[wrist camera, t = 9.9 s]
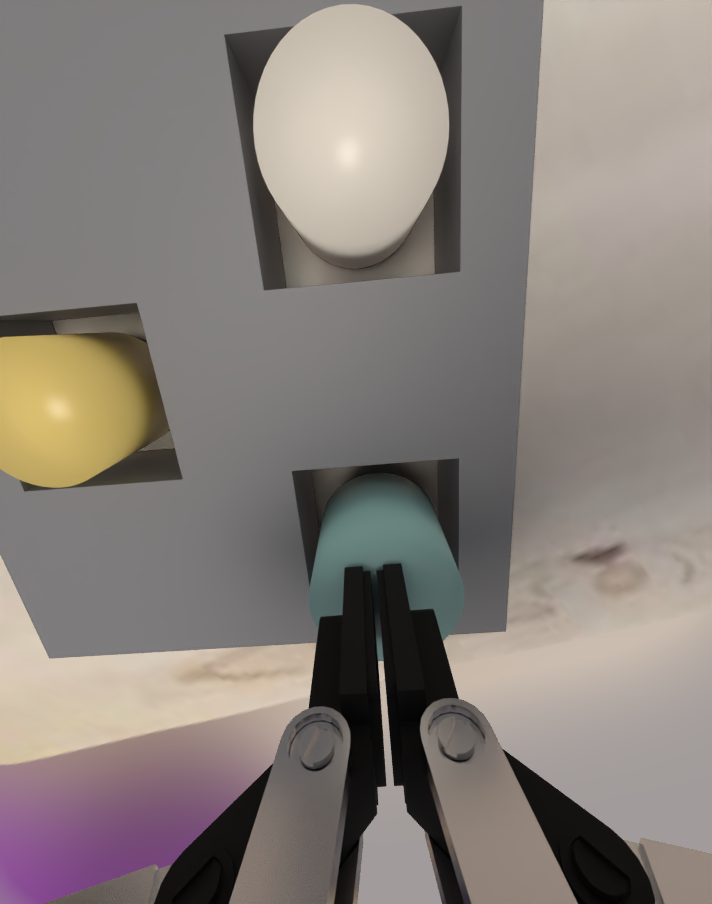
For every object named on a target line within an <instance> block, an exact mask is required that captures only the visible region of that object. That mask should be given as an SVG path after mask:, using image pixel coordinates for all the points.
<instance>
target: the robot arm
mask: <svg viewBox="0 0 712 904" xmlns="http://www.w3.org/2000/svg"><path fill="white" fill-rule="evenodd" d="M376 574H377V586H378V598H379V610H380V623H381V635H382V647H383V659H384V671H385V683H386V694H387V706H388V718H389V730H390V742H391V753H392V765H393V777H394V786H401V785H403V786H404V795H405V803H406V805H407V812H408V813H409V814H410V815H411V816H412V817H413V818H414V820H416V821H417V823H418V824H419V825H420V826H421V827H422V828H423V829H424V830H425V837H426V842H427V846H428V849H429V853H430V858H431V862H432V866H433V870H434V873H435V877H436V881H437V885H438V889H439V893H440V897H441V901H442V904H712V854H710V853H706V852H702V851H697V850H693V849H689V848H684V847H680V846H675V845H671V844H666V843H662V842H657V841H653V840H649V839H644V838H641V839H640V843H634V842H630V841H626V840H622V839H621V838H620V837H619V836H618V835H617V834H616V833H615V832H614V831H613V830H611V829H610V828H609V827H608V826H606V825H605V824H604V823H602V822H601V821H599V820H598V819H597V818H595V817H594V816H593V815H591V814H590V813H589V812H587V811H586V810H585V809H583V808H582V807H580V806H579V805H578V804H576V803H575V802H574V801H572V800H571V799H570V798H568V797H567V796H565V795H564V794H563V793H562V792H560V791H559V790H558V789H556V788H555V787H553V786H552V785H551V784H549V783H548V782H547V781H545V780H544V779H542V778H541V777H540V776H539V775H537V774H536V773H534V772H533V771H532V770H530V769H529V768H528V767H526V766H525V765H524V764H522V763H521V762H520V761H518V760H517V759H516V758H514V757H513V756H511V755H510V754H509V753H507V752H506V751H505V750H503V749H502V748H501V746H500V744H499V742H498V740H497V737H496V735H495V733H494V731H493V729H492V727H491V725H490V723H489V722H488V720H487V719H486V717H485V716H484V714H482V713H481V712H480V711H479V710H478V709H477V708H476V707H475V706H473V705H472V704H469V703H468V702H466V701H464V700H460V699H458V695H457V691H456V688H455V684H454V680H453V677H452V673H451V669H450V666H449V662H448V658H447V655H446V651H445V648H444V644H443V640H442V637H441V633H440V629H439V626H438V622H437V619H436V615H435V612H434V610H433V609H421V610H410V606H409V601H408V596H407V591H406V586H405V580H404V575H403V570H402V565H401V563H398V564H385V565H383V570H376ZM383 786H386V773H385V759H384V745H383V730H382V714H381V699H380V685H379V670H378V655H377V642H376V630H375V619H374V607H373V596H372V585H371V573H370V571H363V566H358V567H345V569H344V590H343V613H342V615H337V616H322V617H320V620H319V627H318V636H317V644H316V652H315V661H314V669H313V677H312V686H311V694H310V702H309V709H307V710H304V711H302V712H301V713H300V714H298V715H297V716H295V718H293V719H292V721H291V722H290V723H289V724H288V725H287V727H286V729H285V731H284V733H283V735H282V738H281V741H280V744H279V747H278V750H277V754H276V756H275V760H274V763H273V764H272V765H271V766H270V767H269V768H268V769H267V770H266V771H265V772H264V773H263V774H262V775H261V776H260V777H259V778H258V779H257V780H256V781H255V782H254V783H253V784H252V785H251V786H250V787H249V788H248V789H247V790H246V791H244V792H243V794H242V795H240V796H239V797H238V798H237V799H236V800H235V801H234V802H233V803H232V804H231V805H230V806H229V807H228V808H227V809H226V810H225V811H224V812H223V813H222V814H221V815H220V816H219V817H218V818H217V819H216V820H215V821H214V822H213V823H212V824H211V825H210V826H209V827H208V828H207V829H206V830H205V831H204V832H203V833H202V834H201V835H200V836H199V837H198V838H197V839H196V840H195V841H194V842H193V843H192V844H191V845H190V846H189V847H188V848H186V850H184V851H183V853H182V854H181V855H180V856H179V857H178V859H177V860H176V861H175V862H174V863H173V864H172V865H169V866H167V867H164V868H161V869H158V867H157V865H156V864H155V865H152V866H149V867H146V868H143V869H141V870H138V871H135V872H132V873H129V874H127V875H124V876H121V877H118V878H115V879H113V880H110V881H107V882H104V883H102V884H99V885H96V886H93V887H90V888H87V889H85V890H82V891H79V892H76V893H73V894H70V895H68V896H65V897H62V898H59V899H57V900H54V901H51V902H48V903H45V904H357V900H358V891H359V881H360V870H361V860H362V849H363V832H364V831H365V830H366V828H367V827H368V825H369V824H370V823H371V821H372V820H373V819H374V817H375V816H376V814H377V805H378V793H377V792H378V791H377V787H383Z"/></svg>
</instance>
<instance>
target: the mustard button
mask: <svg viewBox="0 0 712 904" xmlns="http://www.w3.org/2000/svg"><path fill="white" fill-rule="evenodd" d="M169 430H170V428H169V424H168V420H167V416H166V413H165V409H164V405H163V401H162V397H161V393H160V390H159V386H158V382H157V378H156V374H155V370H154V367H153V363H152V359H151V355H150V351H149V347H148V344H147V343H145V342H144V341H142V340H140V339H138V338H136V337H133V336H130V335H127V334H123V333H115V332H107V333H84V334H61V335H38V336H14V337H1V338H0V469H1V470H2V471H4V472H5V473H7V474H9V475H11V476H13V477H15V478H17V479H19V480H21V481H24V482H27V483H30V484H33V485H37V486H42V487H51V488H62V487H69V486H73V485H77V484H80V483H82V482H84V481H87V480H88V479H90V478H92V477H94V476H95V475H97V474H99V473H100V472H102V471H104V470H106V469H107V468H109V467H111V466H112V465H114V464H116V463H118V462H119V461H121V460H123V459H124V458H126V457H128V456H130V455H131V454H133V453H135V452H136V451H138V450H140V449H142V448H143V447H145V446H147V445H148V444H150V443H152V442H154V441H155V440H157V439H159V438H160V437H162V436H163V435H165V434H166V433H167V432H168V431H169Z"/></svg>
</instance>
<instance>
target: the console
mask: <svg viewBox="0 0 712 904" xmlns="http://www.w3.org/2000/svg"><path fill="white" fill-rule="evenodd" d="M543 3H544V0H0V338H1V337H14V336H38V335H56V333H55V330H54V327H53V324H52V321H53V320H63V319H74V318H84V317H95V316H105V315H116V314H127V313H137V312H139V313H140V317H141V321H142V324H143V328H144V332H145V336H146V340H147V344H148V347H149V351H150V355H151V359H152V363H153V367H154V370H155V374H156V378H157V382H158V386H159V390H160V393H161V397H162V401H163V405H164V409H165V413H166V416H167V420H168V424H169V428H170V432H171V436H172V439H173V443H174V447H175V449H165V450H153V451H140V452H135V453H133V454H131V455H130V456H128V457H126V458H124V459H123V460H121V461H119V462H118V463H116V464H114V465H112V466H111V467H109V468H107V469H106V470H104V471H102V472H100V473H99V474H97V475H95V476H94V477H92V478H90V479H88V480H87V481H84V482H82V483H80V484H77V485H73V486H69V487H62V488H51V487H42V486H37V485H33V484H30V483H27V482H24V481H21V480H19V479H17V478H15V477H13V476H11V475H9V474H7V473H5V472H4V471H2V470H1V469H0V555H1V557H2V559H3V561H4V563H5V565H6V567H7V570H8V572H9V574H10V576H11V578H12V580H13V582H14V584H15V587H16V589H17V591H18V593H19V595H20V597H21V599H22V601H23V603H24V606H25V608H26V610H27V612H28V614H29V616H30V618H31V620H32V623H33V625H34V627H35V629H36V631H37V633H38V635H39V637H40V640H41V642H42V644H43V646H44V648H45V650H46V652H47V654H48V656H49V658H64V657H81V656H98V655H115V654H132V653H149V652H166V651H183V650H199V649H216V648H233V647H250V646H267V645H284V644H301V643H317V636H318V628H317V626H316V625H315V623H314V621H313V618H312V616H311V613H310V609H309V599H308V598H309V589H310V583H311V578H312V573H313V567H314V562H315V557H316V551H317V546H318V541H319V535H320V533H319V525H318V518H317V511H316V503H315V496H314V489H313V481H312V474H311V470H312V469H325V468H338V467H351V466H364V465H377V464H390V463H403V462H416V461H429V460H438V520H439V523H440V525H441V528H442V531H443V533H444V536H445V538H446V541H447V543H448V546H449V548H450V551H451V553H452V556H453V558H454V561H455V563H456V566H457V568H458V571H459V573H460V576H461V578H462V581H463V586H464V592H465V600H464V607H463V611H462V615H461V617H460V619H459V621H458V623H457V625H456V626H455V628H454V629H453V631H452V632H451V633H450V634H449V635H453V634H470V633H486V632H503V631H506V621H507V604H508V588H509V571H510V554H511V537H512V521H513V504H514V487H515V471H516V454H517V437H518V421H519V404H520V387H521V370H522V354H523V337H524V320H525V304H526V287H527V270H528V254H529V237H530V220H531V203H532V187H533V170H534V153H535V137H536V120H537V103H538V87H539V70H540V53H541V36H542V20H543ZM341 4H359V5H366V6H371V7H374V8H377V9H380V10H383V11H385V12H387V13H389V14H391V15H393V16H395V17H396V18H398V19H399V20H400V21H402V22H403V23H404V24H406V25H407V26H408V27H409V28H410V29H411V30H412V31H413V32H414V33H415V34H416V35H417V36H418V37H419V38H420V40H421V41H422V42H423V44H424V45H425V46H426V47H427V49H428V51H429V52H430V54H431V56H432V58H433V59H434V61H435V63H436V65H437V68H438V70H439V73H440V75H441V78H442V81H443V85H444V88H445V92H446V97H447V103H448V111H449V139H448V146H447V152H446V157H445V161H444V165H443V168H442V171H441V174H440V177H439V179H438V182H437V184H436V186H435V188H434V247H435V274H433V275H422V276H412V277H401V278H391V279H380V280H370V281H359V282H349V283H339V284H328V285H318V286H307V287H297V288H286V283H285V276H284V268H283V261H282V254H281V246H280V239H279V231H278V224H277V217H276V209H275V202H274V198H273V196H272V194H271V193H270V191H269V189H268V187H267V185H266V183H265V180H264V178H263V176H262V173H261V170H260V167H259V163H258V160H257V155H256V150H255V144H254V133H253V114H254V106H255V98H256V94H257V90H258V86H259V82H260V79H261V76H262V74H263V71H264V68H265V66H266V64H267V62H268V60H269V58H270V56H271V54H272V53H273V51H274V50H275V48H276V47H277V45H278V44H279V42H280V41H281V40H282V39H283V38H284V36H285V35H286V34H287V33H288V32H289V31H290V30H291V29H292V28H293V27H294V26H296V25H297V24H298V23H299V22H300V21H302V20H303V19H305V18H306V17H308V16H310V15H311V14H313V13H315V12H317V11H320V10H322V9H325V8H327V7H332V6H337V5H341Z"/></svg>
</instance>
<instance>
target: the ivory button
mask: <svg viewBox="0 0 712 904" xmlns="http://www.w3.org/2000/svg"><path fill="white" fill-rule="evenodd" d="M253 133H254V144H255V150H256V155H257V160H258V163H259V167H260V170H261V173H262V176H263V178H264V180H265V183H266V185H267V187H268V189H269V191H270V193H271V194H272V196H273V198H274V200H275V201H276V203H277V204H278V205H279V207H280V208H281V210H282V211H283V213H284V214H285V215H286V217H287V218H288V220H289V221H290V223H291V224H292V225H293V227H294V228H295V230H296V231H297V233H298V234H299V235H300V237H301V238H302V240H303V241H304V242H305V244H306V245H307V246H308V247H309V248H310V249H311V250H312V251H313V252H314V253H315V254H316V255H317V256H319V257H320V258H322V259H323V260H325V261H327V262H329V263H331V264H333V265H336V266H340V267H344V268H363V267H368V266H371V265H375V264H377V263H379V262H381V261H383V260H385V259H386V258H388V257H389V256H390V255H392V254H393V253H394V252H395V251H396V250H397V249H398V248H399V247H400V246H401V245H402V243H403V242H404V241H405V239H406V238H407V236H408V235H409V233H410V231H411V229H412V228H413V226H414V224H415V222H416V220H417V219H418V217H419V215H420V213H421V212H422V210H423V208H424V206H425V204H426V203H427V201H428V199H429V197H430V195H431V194H432V192H433V190H434V188H435V186H436V184H437V182H438V179H439V177H440V174H441V171H442V168H443V165H444V161H445V157H446V152H447V146H448V139H449V111H448V103H447V97H446V92H445V88H444V85H443V81H442V78H441V75H440V73H439V70H438V68H437V65H436V63H435V61H434V59H433V58H432V56H431V54H430V52H429V51H428V49H427V47H426V46H425V45H424V44H423V42H422V41H421V40H420V38H419V37H418V36H417V35H416V34H415V33H414V32H413V31H412V30H411V29H410V28H409V27H408V26H407V25H406V24H404V23H403V22H402V21H400V20H399V19H398V18H396V17H395V16H393V15H391V14H389V13H387V12H385V11H383V10H380V9H377V8H374V7H371V6H366V5H359V4H341V5H337V6H332V7H327V8H325V9H322V10H320V11H317V12H315V13H313V14H311V15H310V16H308V17H306V18H305V19H303V20H302V21H300V22H299V23H298V24H297V25H296V26H294V27H293V28H292V29H291V30H290V31H289V32H288V33H287V34H286V35H285V36H284V38H283V39H282V40H281V41H280V42H279V44H278V45H277V47H276V48H275V50H274V51H273V53H272V54H271V56H270V58H269V60H268V62H267V64H266V66H265V68H264V71H263V74H262V76H261V79H260V82H259V86H258V90H257V94H256V98H255V106H254V114H253Z"/></svg>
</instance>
